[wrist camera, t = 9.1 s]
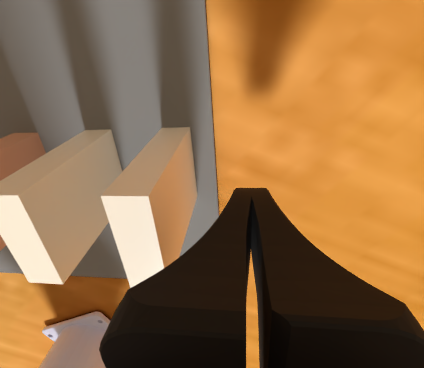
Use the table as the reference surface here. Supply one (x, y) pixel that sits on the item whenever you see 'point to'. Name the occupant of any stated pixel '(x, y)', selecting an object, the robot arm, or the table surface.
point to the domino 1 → (18, 155)
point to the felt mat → (110, 90)
